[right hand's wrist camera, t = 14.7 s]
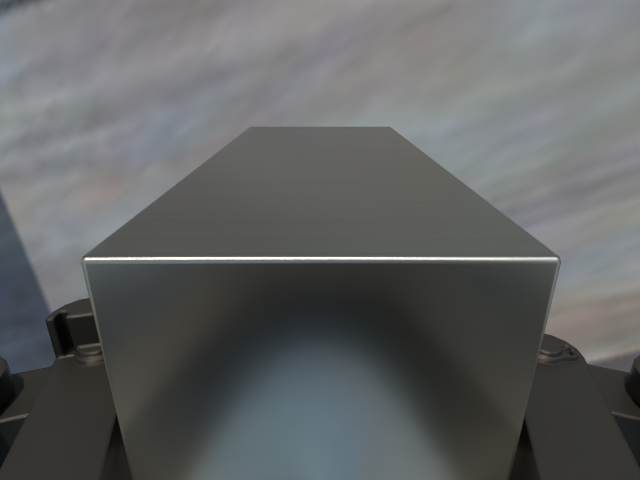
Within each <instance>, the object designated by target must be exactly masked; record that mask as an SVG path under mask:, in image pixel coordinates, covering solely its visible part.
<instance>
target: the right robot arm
mask: <svg viewBox="0 0 640 480" xmlns="http://www.w3.org/2000/svg"><path fill="white" fill-rule="evenodd" d="M46 324H47V327H48V331H49V334H50V338H51V341H52V345H53V348H54V352H55V355H56V360H55V362H54V364H53V365H52V366H51V367H47V368H42V369H37V370H32V371H27V372H22V373H17V374H12V375H11V373H10V370H9V367H8V364H7V361H6V360H4V359H3V358H2V357H0V480H132V477H131V472H130V468H129V464H128V460H127V455H126V451H125V447H124V443H123V438H122V434H121V430H120V426H119V421H118V417H117V413H116V409H115V404H114V400H113V396H112V392H111V387H110V383H109V379H108V374H107V370H106V366H105V362H104V357H103V353H102V349H101V345H100V340H99V336H98V332H97V328H96V323H95V319H94V315H93V311H92V306H91V302H90V298H87V299H82V300H78V301H75V302H73V303H70V304H67V305H65V306H63V307H61V308H59V309H58V310H56V311H54V312H53V313H52V314H51V315H50V316H49V317H48V318H47V319H46ZM509 480H640V356H638V357H637V358H636V359H634V362H633V365H632V368H631V371H630V373H628V372H623V371H618V370H612V369H607V368H602V367H597V366H593V365H589V364H587V363H586V361H585V359H584V357H583V356H582V355H581V353H580V352H579V351H578V350H577V349H576V348H575V347H573V346H572V345H570V344H569V343H567V342H566V341H563V340H561V339H559V338H556V337H554V336H551V335H547V334H544V336H543V340H542V344H541V348H540V353H539V357H538V361H537V365H536V369H535V374H534V378H533V382H532V386H531V391H530V395H529V399H528V403H527V407H526V412H525V416H524V420H523V424H522V429H521V433H520V437H519V441H518V445H517V450H516V454H515V458H514V462H513V467H512V471H511V475H510V479H509Z"/></svg>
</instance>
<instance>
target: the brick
mask: <svg viewBox="0 0 640 480" xmlns="http://www.w3.org/2000/svg"><path fill="white" fill-rule="evenodd" d="M81 264H82V268H83V272H84V277H85V281H86V285H87V289H88V294H89V298H90V302H91V306H92V311H93V315H94V319H95V323H96V328H97V332H98V336H99V340H100V345H101V349H102V353H103V357H104V362H105V366H106V370H107V374H108V379H109V383H110V387H111V392H112V396H113V400H114V404H115V409H116V413H117V417H118V421H119V426H120V430H121V434H122V438H123V443H124V447H125V451H126V455H127V460H128V464H129V468H130V472H131V477H132V480H509V479H510V475H511V471H512V467H513V462H514V458H515V454H516V450H517V445H518V441H519V437H520V433H521V429H522V424H523V420H524V416H525V412H526V407H527V403H528V399H529V395H530V391H531V386H532V382H533V378H534V374H535V369H536V365H537V361H538V357H539V353H540V348H541V344H542V340H543V336H544V332H545V327H546V323H547V319H548V315H549V310H550V306H551V302H552V298H553V294H554V289H555V285H556V281H557V277H558V272H559V268H560V264H561V262H560V258H559V256H558V255H556V254H555V253H554V252H553V251H551V250H550V249H549V248H547V247H546V246H545V245H543V244H542V243H541V242H540V241H538V240H537V239H536V238H534V237H533V236H532V235H530V234H529V233H528V232H526V231H525V230H524V229H523V228H521V227H520V226H519V225H517V224H516V223H515V222H513V221H512V220H511V219H510V218H508V217H507V216H506V215H504V214H503V213H502V212H500V211H499V210H498V209H497V208H495V207H494V206H493V205H491V204H490V203H489V202H487V201H486V200H485V199H483V198H482V197H481V196H480V195H478V194H477V193H476V192H474V191H473V190H472V189H470V188H469V187H468V186H467V185H465V184H464V183H463V182H461V181H460V180H459V179H457V178H456V177H455V176H454V175H452V174H451V173H450V172H448V171H447V170H446V169H444V168H443V167H442V166H440V165H439V164H438V163H437V162H435V161H434V160H433V159H431V158H430V157H429V156H427V155H426V154H425V153H424V152H422V151H421V150H420V149H418V148H417V147H416V146H414V145H413V144H412V143H411V142H409V141H408V140H407V139H405V138H404V137H403V136H401V135H400V134H399V133H397V132H396V131H395V130H394V129H392V128H391V127H250V128H248V129H247V130H246V131H244V132H243V133H242V134H241V135H239V136H238V137H237V138H235V139H234V140H233V141H232V142H230V143H229V144H228V145H226V146H225V147H224V148H223V149H221V150H220V151H219V152H217V153H216V154H215V155H213V156H212V157H211V158H210V159H208V160H207V161H206V162H204V163H203V164H202V165H201V166H199V167H198V168H197V169H195V170H194V171H193V172H192V173H190V174H189V175H188V176H186V177H185V178H184V179H182V180H181V181H180V182H179V183H177V184H176V185H175V186H173V187H172V188H171V189H170V190H168V191H167V192H166V193H164V194H163V195H162V196H160V197H159V198H158V199H157V200H155V201H154V202H153V203H151V204H150V205H149V206H148V207H146V208H145V209H144V210H142V211H141V212H140V213H139V214H137V215H136V216H135V217H133V218H132V219H131V220H129V221H128V222H127V223H126V224H124V225H123V226H122V227H120V228H119V229H118V230H117V231H115V232H114V233H113V234H111V235H110V236H109V237H108V238H106V239H105V240H104V241H102V242H101V243H100V244H98V245H97V246H96V247H95V248H93V249H92V250H91V251H89V252H88V253H87V254H86V255H84V256H83V258H82V262H81Z"/></svg>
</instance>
